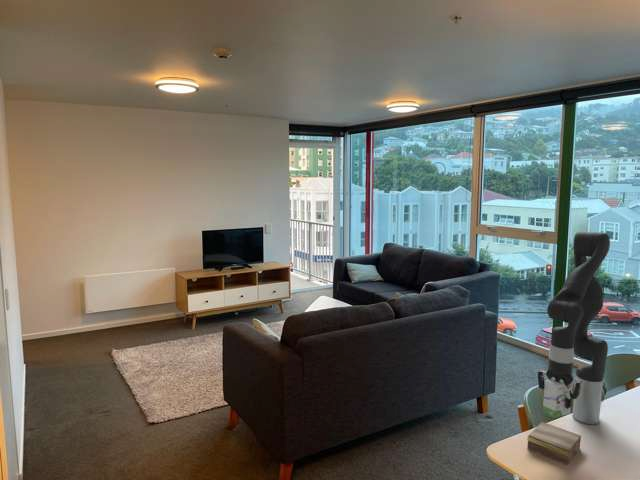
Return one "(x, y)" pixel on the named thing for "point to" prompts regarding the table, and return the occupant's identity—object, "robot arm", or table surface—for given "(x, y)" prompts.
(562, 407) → the ink box
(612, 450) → the table surface
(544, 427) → the walnut dock
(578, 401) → the robot arm
